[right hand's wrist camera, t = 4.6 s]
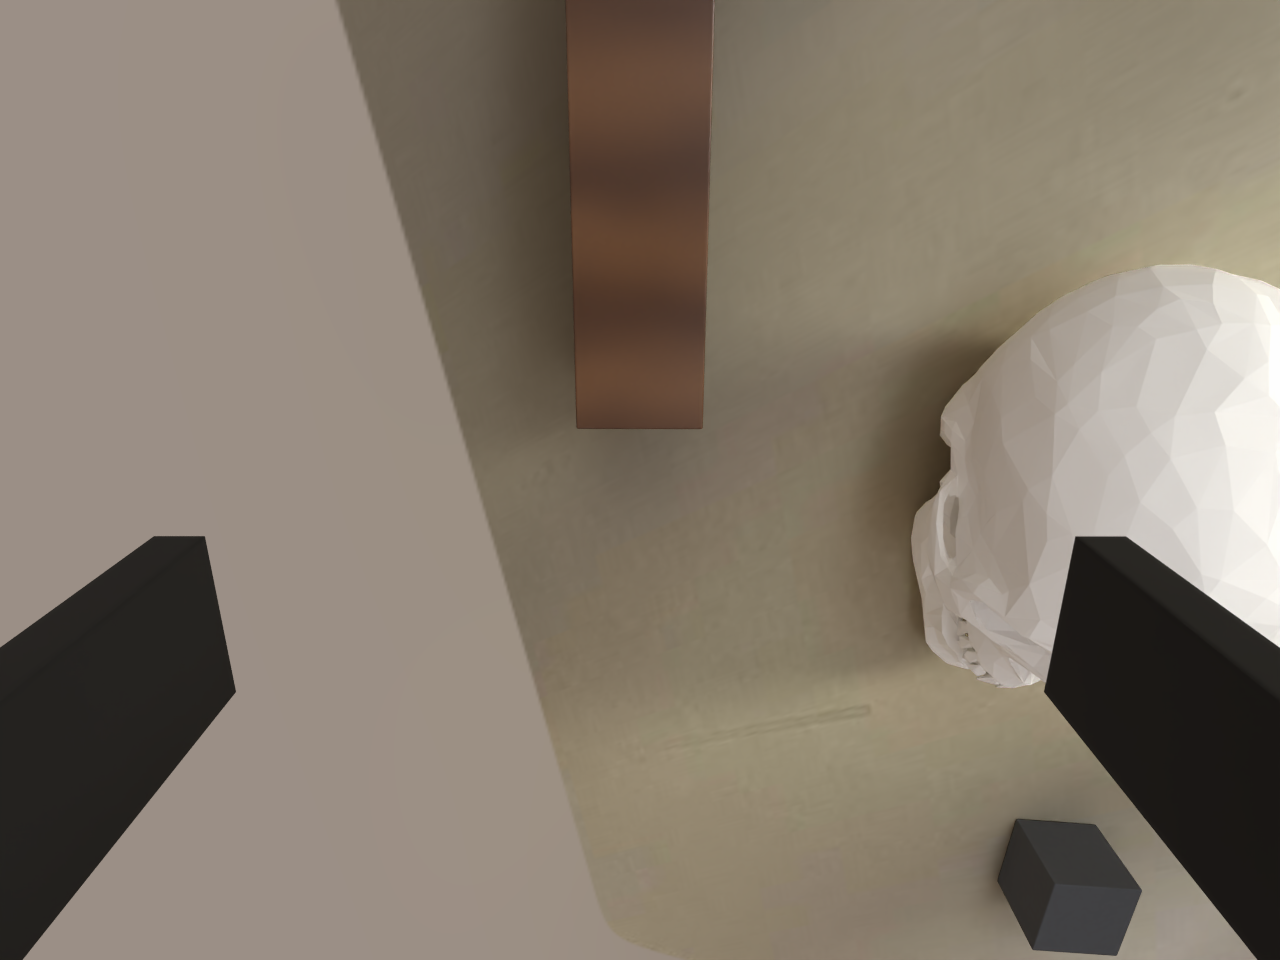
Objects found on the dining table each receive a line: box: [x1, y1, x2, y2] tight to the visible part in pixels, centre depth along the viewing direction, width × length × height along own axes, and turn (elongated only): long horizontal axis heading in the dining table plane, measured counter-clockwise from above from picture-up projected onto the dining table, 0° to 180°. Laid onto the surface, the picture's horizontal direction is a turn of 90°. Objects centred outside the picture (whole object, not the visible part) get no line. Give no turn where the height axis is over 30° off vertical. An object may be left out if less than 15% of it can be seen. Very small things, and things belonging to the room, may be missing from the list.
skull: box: [911, 264, 1280, 688], centre depth 35 cm, size 13×22×16 cm, turn 170°
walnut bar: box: [565, 0, 715, 429], centre depth 33 cm, size 22×5×9 cm, turn 0°
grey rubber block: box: [998, 819, 1142, 956], centre depth 48 cm, size 5×5×5 cm
